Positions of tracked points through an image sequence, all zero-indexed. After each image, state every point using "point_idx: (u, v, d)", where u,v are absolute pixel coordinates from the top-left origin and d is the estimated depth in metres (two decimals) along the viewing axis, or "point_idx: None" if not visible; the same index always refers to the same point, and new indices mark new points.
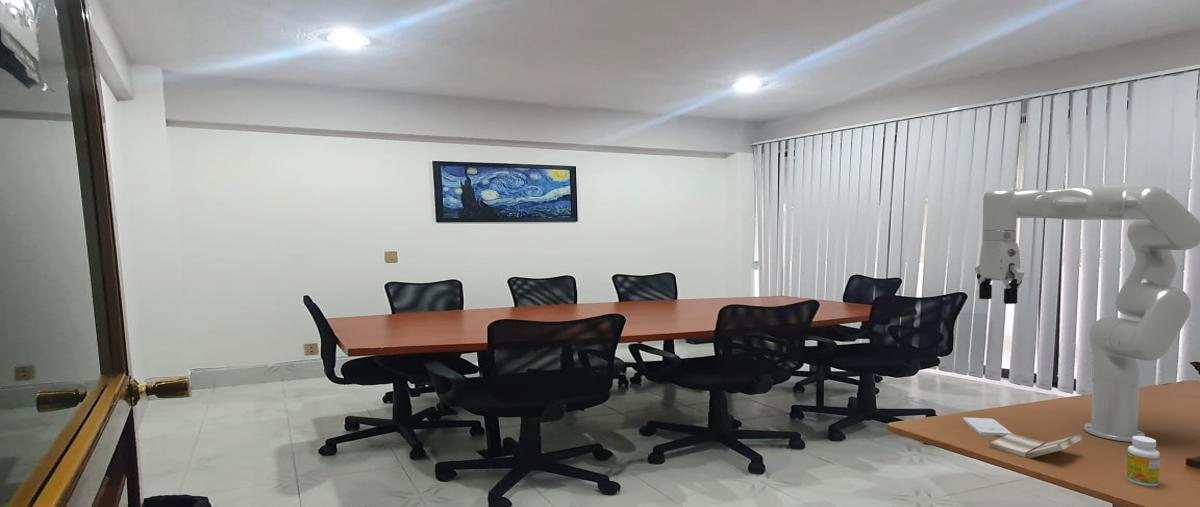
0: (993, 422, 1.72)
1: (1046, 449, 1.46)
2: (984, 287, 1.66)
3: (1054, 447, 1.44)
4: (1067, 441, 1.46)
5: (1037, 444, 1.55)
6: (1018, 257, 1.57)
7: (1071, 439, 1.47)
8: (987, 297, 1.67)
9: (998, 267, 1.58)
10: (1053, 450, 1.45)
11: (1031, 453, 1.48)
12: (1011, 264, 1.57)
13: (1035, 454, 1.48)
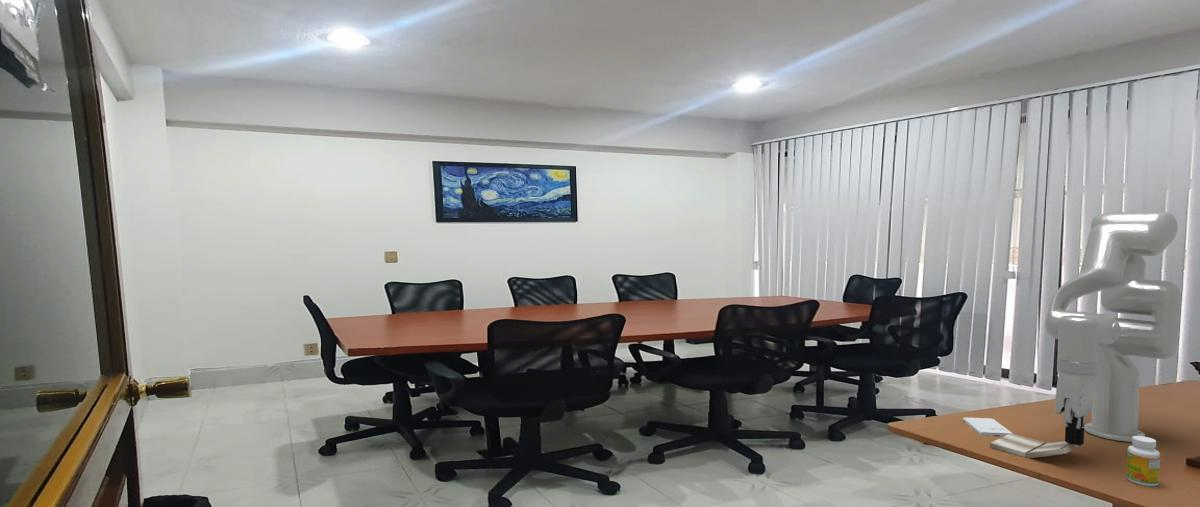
0: (993, 422, 1.72)
1: (1048, 451, 1.45)
2: None
3: (1056, 450, 1.44)
4: (1070, 445, 1.45)
5: (1037, 444, 1.55)
6: None
7: None
8: None
9: (1092, 400, 1.45)
10: (1055, 453, 1.44)
11: (1032, 453, 1.48)
12: None
13: (1036, 454, 1.48)
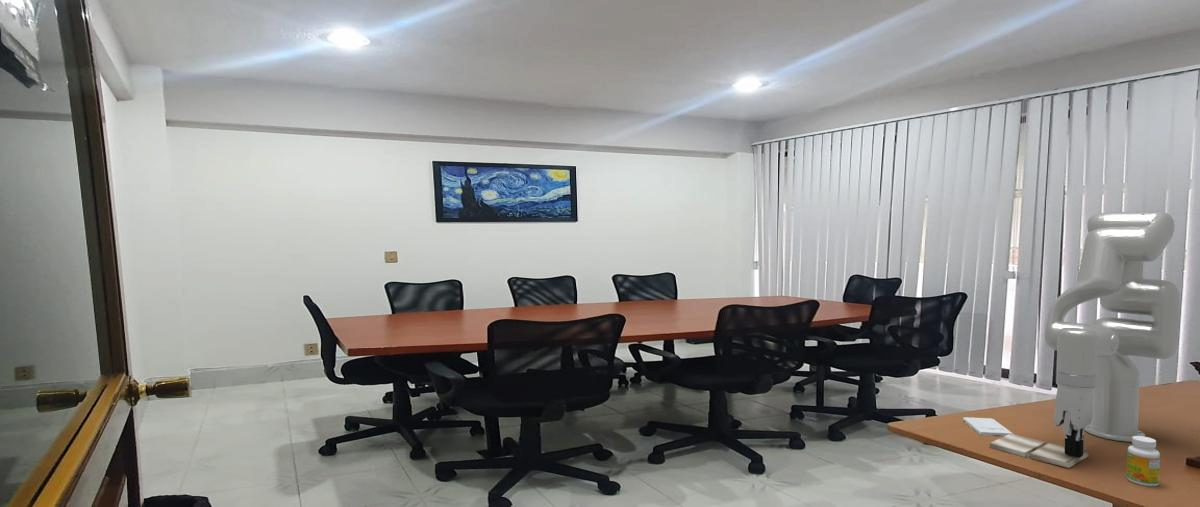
0: (993, 422, 1.72)
1: (1052, 459, 1.45)
2: None
3: (1061, 462, 1.43)
4: (1075, 459, 1.44)
5: (1037, 444, 1.55)
6: None
7: None
8: None
9: (1091, 411, 1.46)
10: (1058, 463, 1.44)
11: (1034, 455, 1.48)
12: None
13: (1038, 458, 1.47)
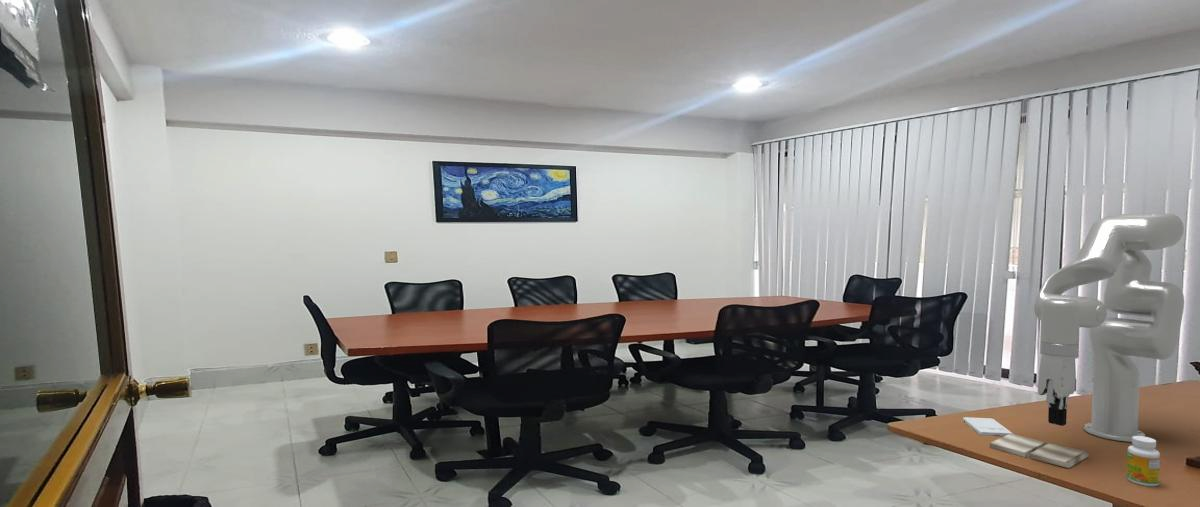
0: (993, 422, 1.72)
1: (1052, 460, 1.45)
2: None
3: (1061, 462, 1.43)
4: (1075, 459, 1.44)
5: (1037, 444, 1.55)
6: None
7: (1079, 457, 1.46)
8: None
9: (1074, 381, 1.48)
10: (1058, 464, 1.44)
11: (1034, 455, 1.48)
12: None
13: (1038, 458, 1.47)
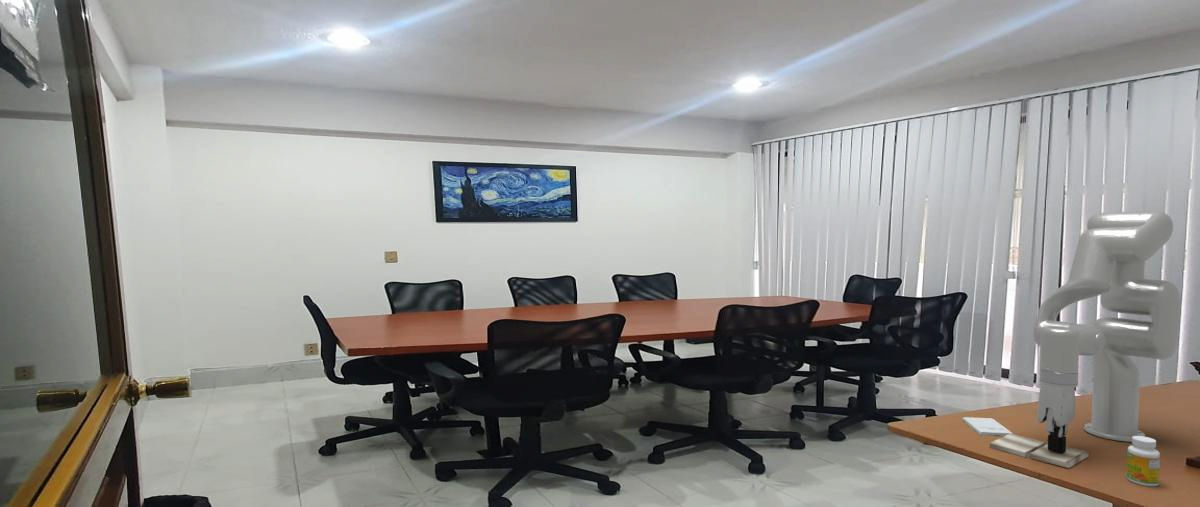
0: (993, 422, 1.73)
1: (1052, 460, 1.45)
2: None
3: (1061, 462, 1.43)
4: (1075, 459, 1.44)
5: (1037, 444, 1.55)
6: None
7: (1079, 457, 1.46)
8: None
9: (1073, 408, 1.49)
10: (1058, 464, 1.44)
11: (1034, 455, 1.48)
12: None
13: (1038, 458, 1.47)
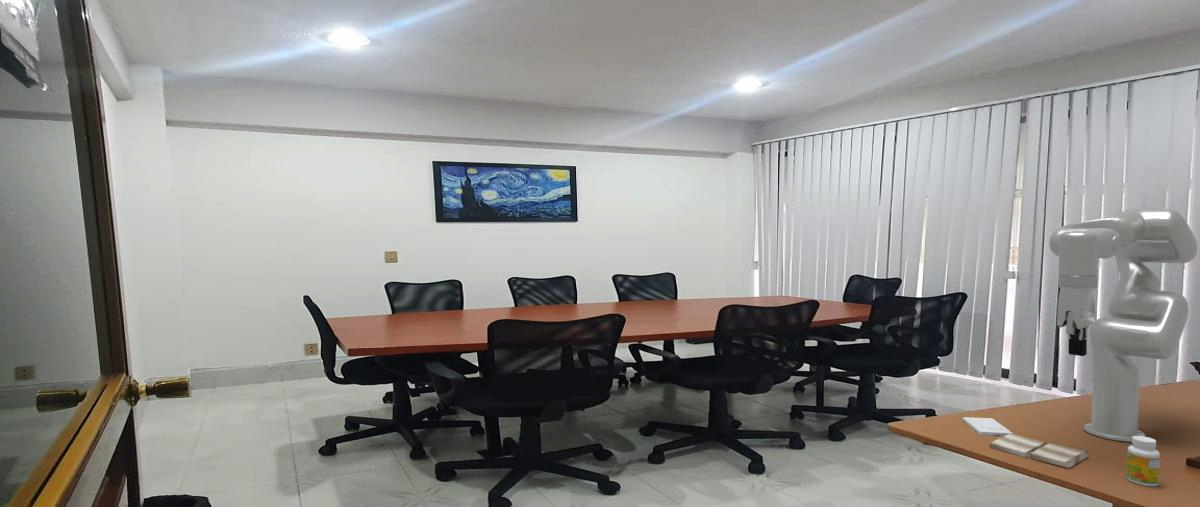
0: (993, 422, 1.73)
1: (1052, 460, 1.45)
2: None
3: (1061, 462, 1.43)
4: (1075, 459, 1.44)
5: (1037, 444, 1.55)
6: None
7: (1079, 457, 1.46)
8: None
9: (1093, 311, 1.50)
10: (1058, 464, 1.44)
11: (1034, 455, 1.48)
12: None
13: (1038, 458, 1.47)
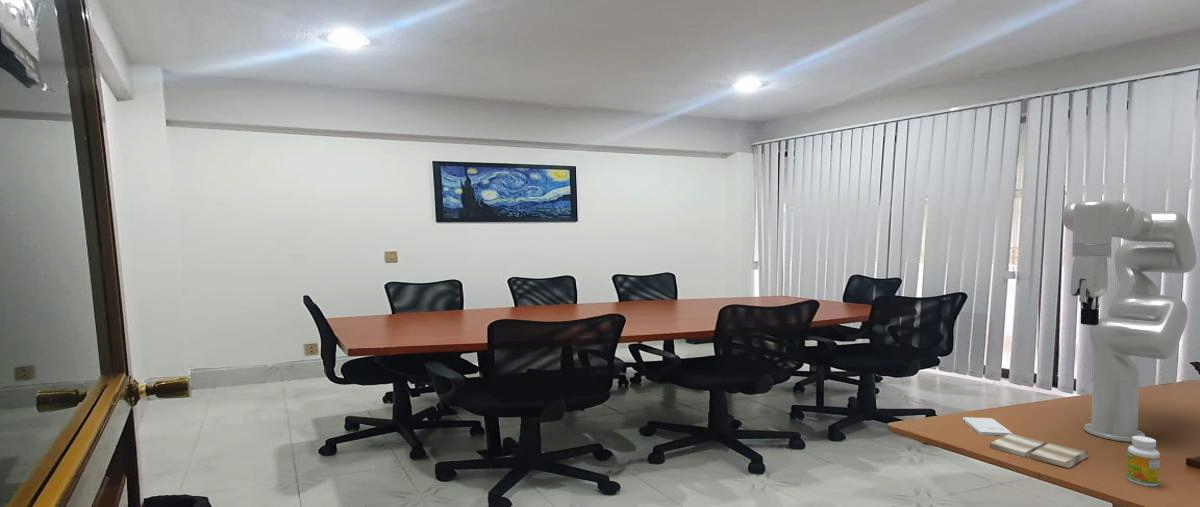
0: (993, 422, 1.73)
1: (1052, 460, 1.45)
2: None
3: (1061, 462, 1.43)
4: (1075, 459, 1.44)
5: (1037, 444, 1.55)
6: None
7: (1079, 457, 1.46)
8: None
9: (1106, 282, 1.51)
10: (1058, 464, 1.44)
11: (1034, 455, 1.48)
12: None
13: (1038, 458, 1.47)
